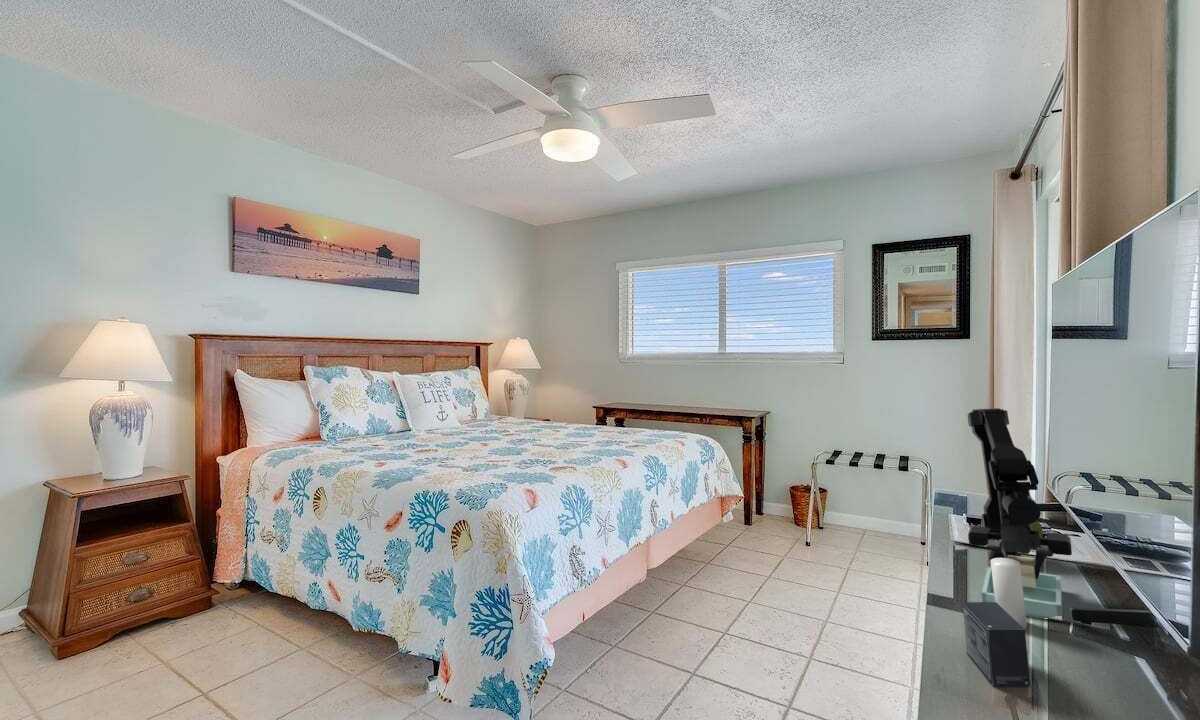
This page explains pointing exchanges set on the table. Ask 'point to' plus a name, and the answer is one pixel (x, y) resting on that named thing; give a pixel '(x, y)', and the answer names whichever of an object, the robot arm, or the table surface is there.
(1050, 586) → the tote
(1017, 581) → the white tapered cylinder
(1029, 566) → the cube
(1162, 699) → the table surface
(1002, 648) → the small box
